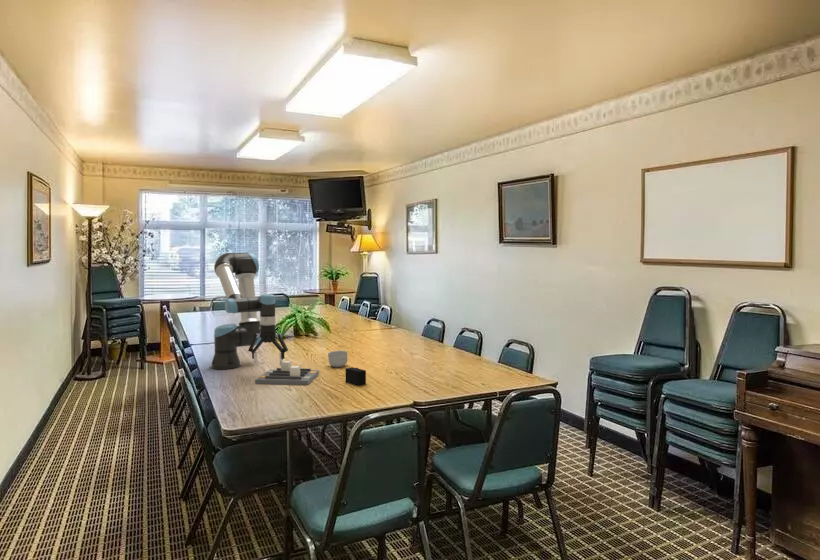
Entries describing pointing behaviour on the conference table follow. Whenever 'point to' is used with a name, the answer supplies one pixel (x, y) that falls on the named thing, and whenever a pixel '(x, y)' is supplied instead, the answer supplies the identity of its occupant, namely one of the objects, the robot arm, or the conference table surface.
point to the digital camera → (355, 376)
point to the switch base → (287, 377)
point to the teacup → (337, 358)
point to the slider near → (295, 371)
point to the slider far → (285, 365)
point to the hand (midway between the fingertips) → (268, 365)
